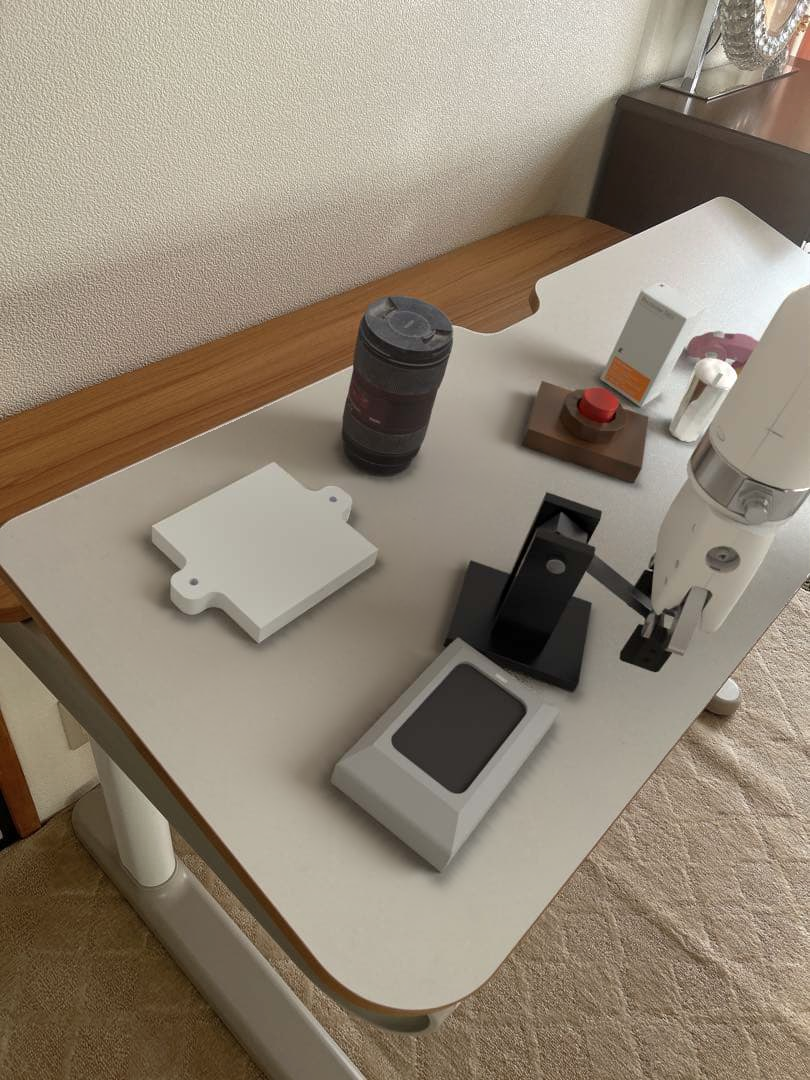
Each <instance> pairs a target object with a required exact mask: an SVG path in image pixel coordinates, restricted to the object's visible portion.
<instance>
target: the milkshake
mask: <svg viewBox="0 0 810 1080" xmlns="http://www.w3.org/2000/svg"><path fill="white" fill-rule="evenodd" d="M736 379H737V374H736V372H735V370H734V369H733V368H732V367H731V364H729V363H728V362H727V361H725V362H724V361H722V360H719V359H712V358H705V359H702V360H701V359H700V360H698V361H697V362H696V363H695V365H694V367H693V370H692V372H691V375H690V377H689V379H688V382H687V385H686V388H685V389H684V390H685V391H684V393H683V395H682V397H681V399H680V401H679V404H678V406H677V408H676V410H675V412H674V415H673V417H672V419H671V422H670V424H669V428H668V430H669V432H670V434H671V435H672V436H673V438H674V437H675V438H676V439H678V440H679V441H682V442H685V443H691V442H695V441H697V439H698V438H699V437H700V435H701V433H702V432H703V431H704V429H705V428H706V427H707V426H708V424H709V422H711V419H713V418H714V416H715V415H716V413H717V411H718V409H719V408H720V406H721V404H722V403H723V401H724V399H725V398H726V396H727V394H728V393H729V391H730V389H731V388H732V386H733V384H734V382H735V381H736Z"/></svg>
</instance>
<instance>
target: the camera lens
mask: <svg viewBox="0 0 810 1080" xmlns="http://www.w3.org/2000/svg"><path fill="white" fill-rule="evenodd" d="M453 335H454V327H453V324H452V322H451V320H450V319H449V317H448V316H447V314H446V313H444V312H443V311H442V310H441V309H440V308H438V307H436V306H435V305H433V304H432V303H430V302H428V301H425V300H422V299H419V298H416V297H412V296H408V295H407V296H406V295H389V296H382V297H379V298H378V299H376V300H373V301H372V302H371V303H370V304H369V305H368V306H367V307H366V309H365V311H364V315H363V316H362V317H361V319H360V322H359V326H358V330H357V336H356V341H355V342H356V343H355V346H354V351H353V363H352V373H351V377H350V383H349V387H348V392H347V396H346V398H345V403H344V408H343V412H342V413H343V414H342V425H341V426H342V427H341V437H342V440H343V451H344V455H345V456H346V458H347V460H348V461H349V462H350V463H351V464H352V465H353V466H354V467H356V468H358V469H359V470H361V471H363V472H365V473H368V474H372V475H376V476H381V477H383V476H385V477H386V476H387V477H388V476H395V475H398V474H400V473H401V474H402V473H403V472H404V471H406V470H408V468H409V467H410V466H411V464H412V462H413V459H414V458H415V457H416V456H418V454H419V452H420V451H421V447H422V444H423V443H424V440H425V438H426V435H427V432H428V428H429V425H430V421H431V417H432V416H431V415H432V411H433V408H434V404H435V402H436V397H437V394H438V391H439V389H440V387H441V386H442V385H441V384H442V383H443V379H444V377H445V373H446V371H447V367H448V363H449V360H450V356H451V354H452V349H453V345H454V338H453Z"/></svg>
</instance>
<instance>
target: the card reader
mask: <svg viewBox="0 0 810 1080" xmlns="http://www.w3.org/2000/svg"><path fill="white" fill-rule="evenodd" d="M559 714H560V709H559V708H557V707H556V706H555V705H553V704H552V703H550V702H549V701H548V700H547V699H545V698H544V697H542V696H541V695H539V694H538V693H536V692H535V691H534V690H532V689H531V688H529V686H527V685H525V684H524V683H523V682H521V681H520V680H518V679H517V678H515V677H514V676H513V675H512V674H510V673H509V672H507V671H506V670H505V669H503V667H501V666H498V665H496V664H495V663H493V662H492V661H491V660H489V659H488V658H486V657H485V656H484V655H482V654H481V653H479V652H478V651H477V650H475V649H474V648H472V647H471V646H470V645H468V644H467V643H466V642H464V641H463V640H461V639H460V638H457V639H455V640H454V641H453V642H452V643H451V644H450V645H449V646H448V647H446V648H444V650H443V651H441V653H440V654H439V655H438V656H437V657H436V658H435V659H434V660H433V661H432V662H431V663H430V664H429V666H428V667H427V668H426V669H425V670H424V671H423V672H422V673H421V674H420V675H419V676H418V677H417V678H416V679H415V680H414V681H413V683H412V684H410V686H408V687H407V689H406V690H405V691H404V692H403V693H402V694H401V695H400V696H399V697H398V698H397V699H396V701H395V702H393V703H392V705H390V707H389V708H388V709H386V711H385V712H384V713H383V714H382V715H381V716H380V717H379V719H377V720H376V721H375V723H374V724H373V725H372V726H371V727H370V728H369V729H368V730H367V731H366V732H365V733H364V734H363V735H362V736H361V737H360V738H359V739H358V741H356V743H355V744H354V745H353V746H352V747H351V748H350V749H349V750H348V751H347V752H346V753H345V754H344V755H343V756H342V757H341V759H339V760H338V761H337V763H336V764H335V765H334V768H333V772H332V775H331V778H330V780H329V781H330V784H332V785H333V786H335V787H336V788H337V789H338V790H340V791H341V792H342V793H343V794H344V795H345V796H347V797H348V798H349V799H350V800H351V801H353V802H355V804H356V805H358V806H359V807H360V808H361V809H362V810H363V811H365V812H366V813H368V815H370V816H371V817H372V818H374V819H375V820H376V821H377V822H378V823H380V824H381V825H382V826H383V827H384V828H386V829H387V830H388V831H389V832H390V833H392V834H393V835H394V836H396V837H397V838H398V839H399V840H400V841H402V842H403V843H404V844H405V845H406V846H408V847H409V848H410V849H411V850H412V851H414V852H415V853H416V854H418V855H419V856H420V857H421V858H422V859H424V860H425V861H426V862H427V863H428V864H430V865H431V866H432V867H433V868H434V869H436V870H437V871H438V872H439V873H441V874H442V873H443V872H444V870H445V869H446V867H447V866H449V864H450V862H451V861H452V859H453V858H454V857H455V855H457V853H458V851H459V850H460V849H461V848H462V846H463V845H464V844H465V842H466V841H467V840H468V838H469V837H470V835H472V833H473V832H474V831H475V828H477V826H478V825H479V823H480V822H481V820H483V818H484V817H485V815H486V814H487V813H488V811H489V810H490V808H491V807H492V806H493V805H494V803H495V802H496V800H497V799H498V798H499V796H501V794H502V793H503V791H504V790H505V789H506V787H507V786H508V785H509V783H510V782H511V780H512V779H513V778H514V777H515V775H516V774H517V772H518V771H519V770H520V769H521V767H522V766H523V765H524V764H525V762H526V760H527V759H528V758H529V756H530V755H531V753H532V752H533V751H534V750H535V748H536V747H537V746H538V745H539V743H540V741H541V740H543V738H544V736H545V735H546V734H547V732H548V731H549V730H550V728H551V727H552V725H553V724H554V722H555V721H556V718H558V716H559Z"/></svg>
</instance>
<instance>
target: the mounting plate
mask: <svg viewBox="0 0 810 1080" xmlns="http://www.w3.org/2000/svg"><path fill="white" fill-rule="evenodd" d="M353 501H354V500H353V498H352V497H351V496H350V495H349V494H348V493H347V492H346V491H345V490H343V489H342V488H341V487H339V486H336V485H327V486H325V487H322V488H321V489H319V490H311V489H307V487H305V486H304V485H302V484H301V483H300V482H299V481H297V479H295V478H294V477H293V476H292V475H291V474H289V473H288V472H286V470H284V469H283V468H282V467H281V466H280V465H278V463H276V462H275V461H273V462H271V463H269V464H267V465H265V466H263V467H261V468H260V469H259V468H258V469H257V470H256V471H253V472H252V473H250V474H248V475H245V476H244V477H242V478H240V479H238V480H236V481H234V482H233V483H230V484H229V485H227V486H225V487H223V488H221V489H219V490H217V491H215V492H214V493H211V494H210V495H207V496H206V497H204V498H202V499H200V500H198V501H196V502H195V503H193V504H190V505H189V506H187V507H185V508H183V509H181V510H179V511H178V512H175V513H173V514H172V515H169V516H168V517H166V518H164V519H162V520H160V521H159V522H156V523H154V524H153V525H151V542H152V544H154V545H155V546H156V548H158V550H159V551H160V552H162V553H163V555H165V556H166V557H167V558H168V559H169V560H170V562H172V563H173V564H174V565H176V567H177V568H178V569H179V570H178V571H176V572H175V573H173V574H172V576H171V578H170V597H169V598H170V601H171V602H172V604H174V605H175V607H177V609H179V611H181V612H182V613H183V614H186V615H189V616H194V615H198V614H200V613H203V612H205V610H207V609H210V608H217V609H221V610H222V611H224V613H226V615H228V616H229V617H230V618H231V619H232V620H233V621H234V623H236V624H237V625H238V626H239V627H240V628H241V629H242V630H243V631H244V632H245V633H247V634H248V635H249V636H250V638H252V639H253V640H254V641H255V642H256V643H257V644H260V643H261V642H263V641H264V640H266V639H267V638H269V637H271V636H272V635H273V634H275V633H276V632H278V631H279V630H281V629H282V628H283V627H285V626H286V625H288V624H289V623H291V622H292V621H294V620H295V619H296V618H298V617H300V616H301V615H303V614H304V613H305V612H307V611H308V610H310V609H311V608H313V607H314V606H316V605H318V603H321V601H323V600H324V599H326V598H328V597H329V596H330V595H332V594H333V593H335V592H336V591H338V590H339V589H341V588H342V587H344V586H346V585H347V584H348V583H350V582H351V581H352V580H355V578H357V577H358V576H360V575H361V574H362V573H364V572H366V571H367V570H368V569H370V568H371V567H373V566H375V563H376V560H377V557H378V552H379V549H378V548H377V547H376V546H375V545H374V544H373V543H371V542H370V541H369V540H368V539H367V538H365V536H363V535H362V534H361V533H359V532H358V531H357V530H356V529H355V528H354V527H352V526H351V525H350V524H349V523H347V522H348V521H349V519H350V514H351V510H352V506H353Z"/></svg>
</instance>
